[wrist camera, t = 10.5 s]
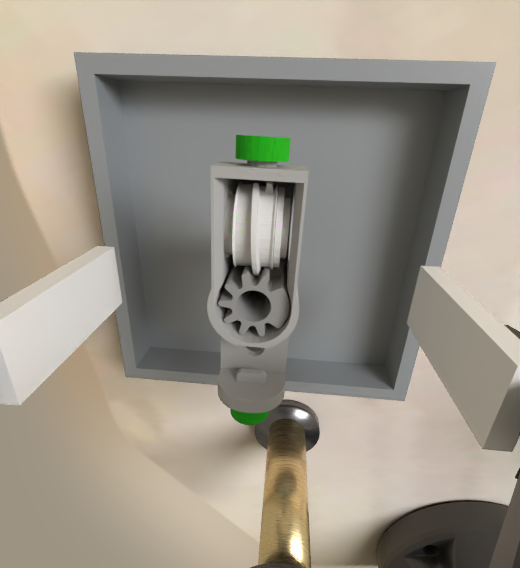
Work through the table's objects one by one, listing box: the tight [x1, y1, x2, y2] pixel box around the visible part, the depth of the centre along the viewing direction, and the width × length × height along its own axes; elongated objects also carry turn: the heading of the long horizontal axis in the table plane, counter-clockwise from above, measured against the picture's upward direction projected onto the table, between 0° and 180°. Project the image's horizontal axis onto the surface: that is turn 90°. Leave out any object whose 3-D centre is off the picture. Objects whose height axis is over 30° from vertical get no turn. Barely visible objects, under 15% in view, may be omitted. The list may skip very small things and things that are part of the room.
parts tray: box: [74, 52, 496, 401], centre depth 20 cm, size 18×18×3 cm
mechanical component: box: [207, 135, 309, 425], centre depth 15 cm, size 3×10×10 cm, turn 177°
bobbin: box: [252, 400, 320, 568], centre depth 22 cm, size 5×5×12 cm
